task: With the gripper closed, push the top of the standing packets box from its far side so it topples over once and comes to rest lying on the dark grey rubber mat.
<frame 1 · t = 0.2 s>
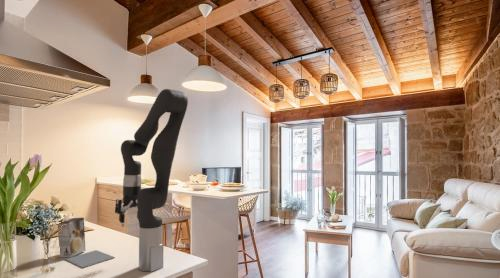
hand: (130, 220, 132), 17 cm above the kitchen counter, tool pointing down, fingers open, 8 cm apart
coffee box: (72, 254, 138), on the kitchen counter, touching mat
mat: (90, 258, 133), on the kitchen counter
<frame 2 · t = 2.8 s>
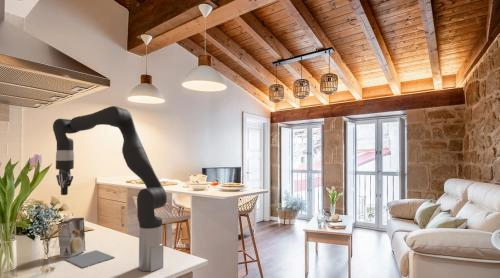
hand: (64, 194, 145), 27 cm above the kitchen counter, tool pointing down, fingers closed
nothing on the kitchen counter moved.
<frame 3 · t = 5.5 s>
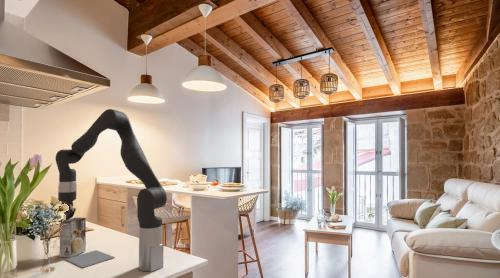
hand: (66, 226, 143), 12 cm above the kitchen counter, tool pointing down, fingers closed
coffee box: (72, 254, 138), on the kitchen counter, touching gripper, mat
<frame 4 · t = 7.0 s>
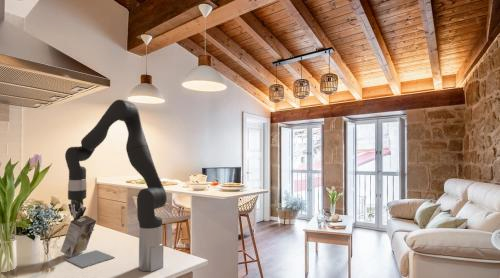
hand: (76, 225, 139), 13 cm above the kitchen counter, tool pointing down, fingers closed
coffee box: (73, 251, 138), point 2 cm above the kitchen counter, touching gripper, hand, mat
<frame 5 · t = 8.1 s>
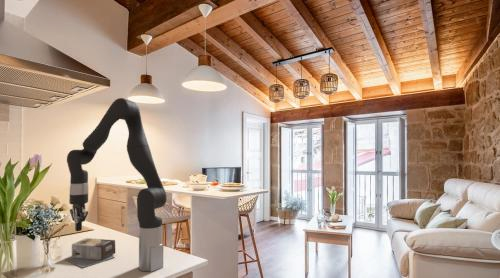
hand: (78, 230, 135), 12 cm above the kitchen counter, tool pointing down, fingers closed
coffee box: (78, 247, 137), point 4 cm above the kitchen counter, touching mat
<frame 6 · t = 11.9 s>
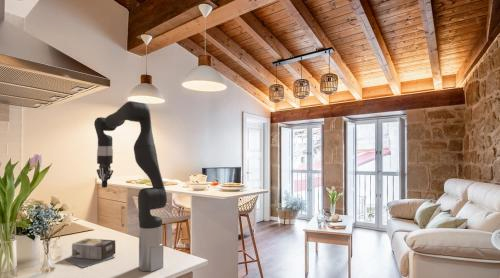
hand: (104, 187, 157), 29 cm above the kitchen counter, tool pointing down, fingers closed
nothing on the kitchen counter moved.
at the end: coffee box tilted 90°; coffee box touching mat; coffee box inside the target area (1.2 cm from its centre), point 3.6 cm above the kitchen counter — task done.
